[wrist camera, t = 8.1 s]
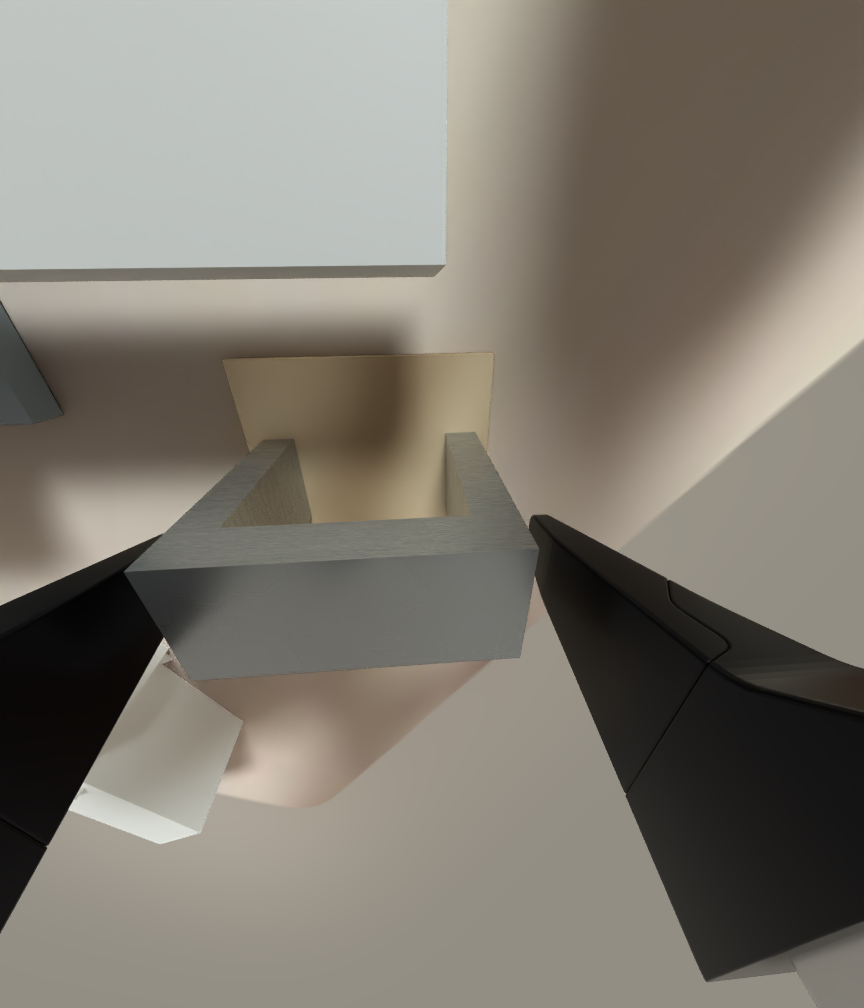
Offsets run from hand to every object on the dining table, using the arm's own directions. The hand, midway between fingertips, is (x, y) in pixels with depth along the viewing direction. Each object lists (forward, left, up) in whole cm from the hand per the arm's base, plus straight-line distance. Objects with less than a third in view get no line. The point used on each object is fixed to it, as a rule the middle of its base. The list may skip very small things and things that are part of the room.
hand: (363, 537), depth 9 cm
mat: (0, 0, -4) cm, 4 cm away
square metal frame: (0, 0, -4) cm, 4 cm away
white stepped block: (+12, +10, -5) cm, 16 cm away
